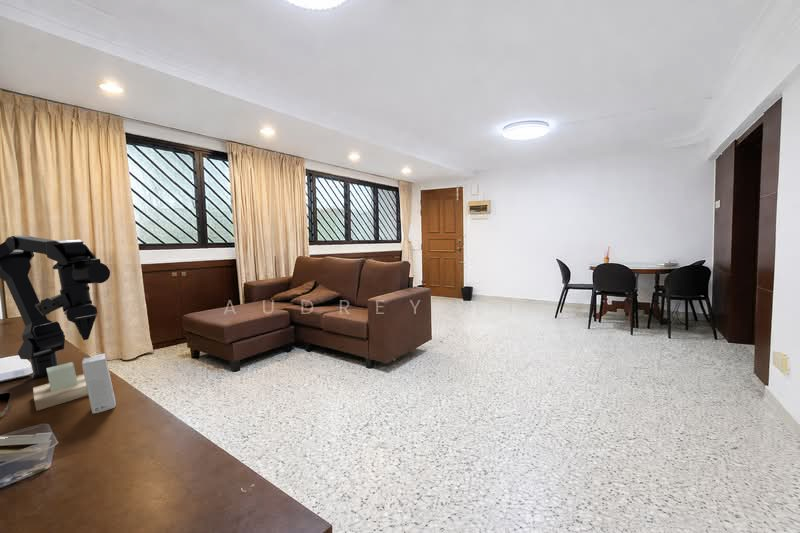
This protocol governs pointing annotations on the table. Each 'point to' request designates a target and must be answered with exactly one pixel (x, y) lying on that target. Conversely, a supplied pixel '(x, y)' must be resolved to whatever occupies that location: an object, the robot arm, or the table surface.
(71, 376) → the sage cube
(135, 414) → the table surface
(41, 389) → the maple plinth
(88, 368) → the skincare box
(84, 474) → the table surface
